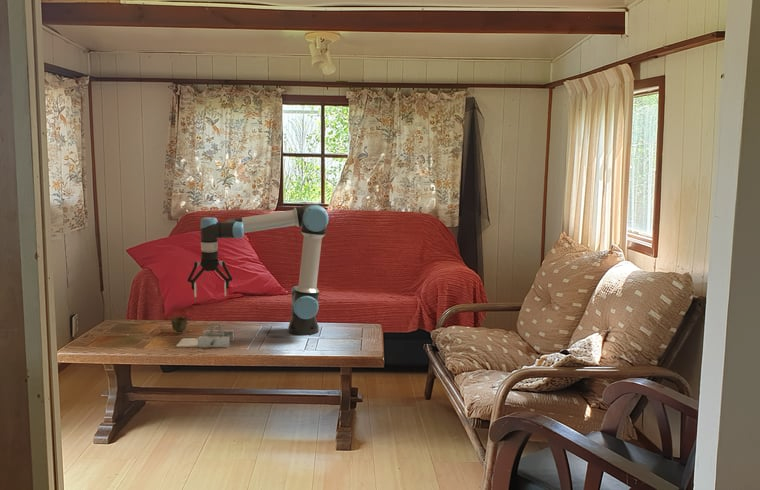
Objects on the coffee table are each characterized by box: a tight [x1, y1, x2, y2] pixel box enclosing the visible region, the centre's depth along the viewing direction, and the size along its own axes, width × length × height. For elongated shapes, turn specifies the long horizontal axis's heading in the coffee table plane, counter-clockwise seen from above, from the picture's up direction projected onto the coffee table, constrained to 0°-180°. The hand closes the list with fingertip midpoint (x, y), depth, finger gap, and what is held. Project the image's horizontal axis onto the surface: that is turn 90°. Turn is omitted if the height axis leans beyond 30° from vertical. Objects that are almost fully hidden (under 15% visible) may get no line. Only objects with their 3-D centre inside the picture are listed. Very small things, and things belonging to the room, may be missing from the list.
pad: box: [175, 337, 198, 348], centre depth 321 cm, size 9×12×1 cm
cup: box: [171, 315, 188, 336], centre depth 336 cm, size 8×7×8 cm
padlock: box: [208, 322, 224, 337], centre depth 321 cm, size 7×4×10 cm, turn 92°
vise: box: [197, 329, 235, 348], centre depth 320 cm, size 14×17×4 cm
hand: (210, 296), depth 321 cm, fingers open, 13 cm apart
